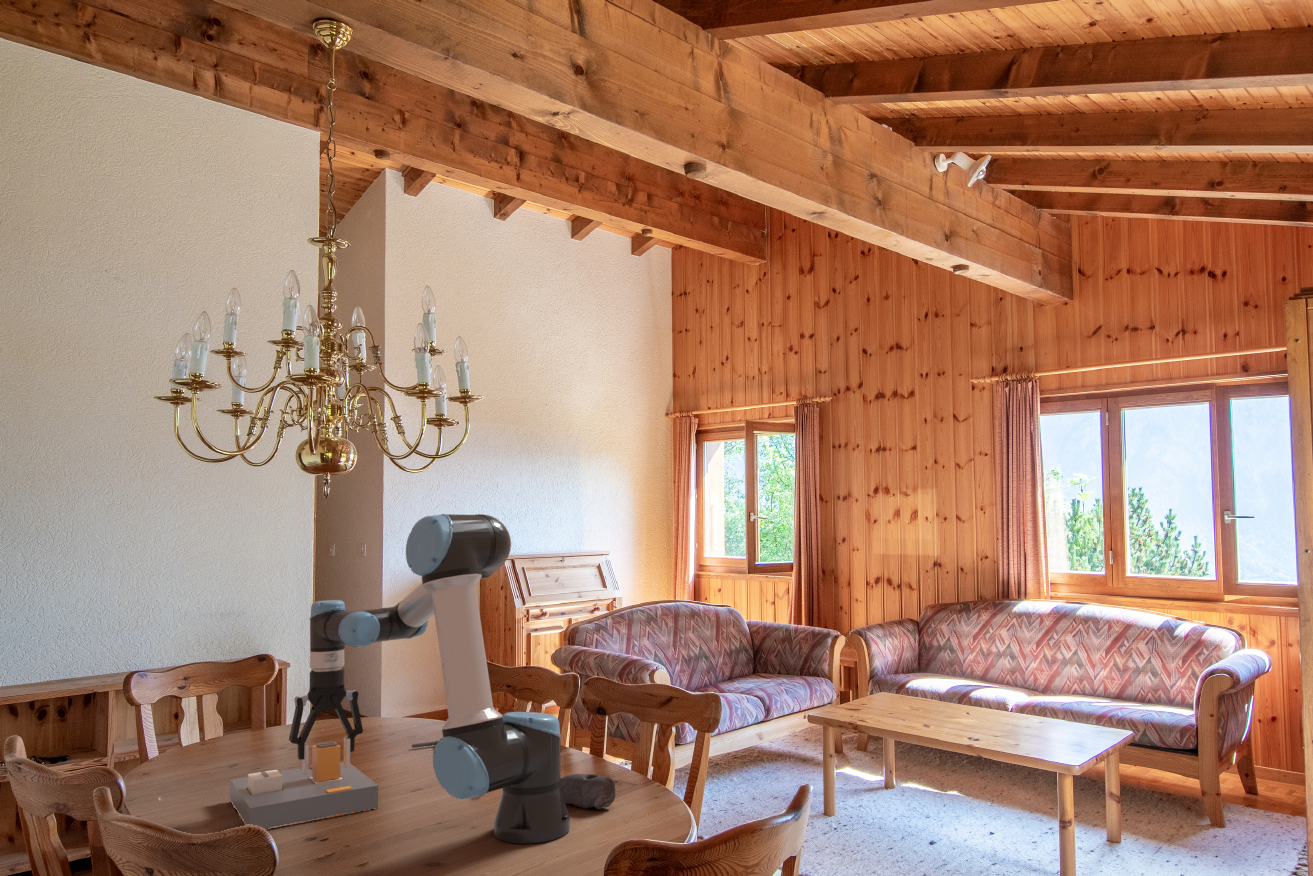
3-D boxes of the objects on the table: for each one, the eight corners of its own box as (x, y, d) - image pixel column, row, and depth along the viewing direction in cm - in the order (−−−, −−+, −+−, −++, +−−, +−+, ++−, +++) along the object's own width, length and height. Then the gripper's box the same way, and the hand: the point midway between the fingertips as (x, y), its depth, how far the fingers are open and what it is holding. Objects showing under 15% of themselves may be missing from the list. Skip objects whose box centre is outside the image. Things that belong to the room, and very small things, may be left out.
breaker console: (378, 808, 199) (378, 782, 199) (249, 833, 185) (250, 805, 185) (346, 782, 220) (347, 758, 221) (230, 802, 206) (230, 776, 207)
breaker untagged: (281, 799, 198) (282, 774, 198) (252, 804, 194) (252, 779, 195) (276, 792, 203) (276, 768, 203) (247, 797, 199) (247, 773, 200)
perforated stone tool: (549, 804, 199) (548, 772, 200) (564, 798, 204) (563, 766, 204) (603, 815, 191) (602, 781, 192) (618, 808, 195) (617, 775, 196)
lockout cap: (340, 777, 205) (340, 744, 206) (317, 781, 202) (317, 747, 203) (334, 773, 209) (335, 740, 210) (312, 776, 206) (312, 743, 207)
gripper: (281, 676, 199) (279, 782, 197) (378, 665, 211) (377, 766, 209) (274, 671, 205) (273, 774, 203) (369, 662, 217) (368, 759, 215)
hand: (326, 770), depth 206 cm, fingers open, 8 cm apart
